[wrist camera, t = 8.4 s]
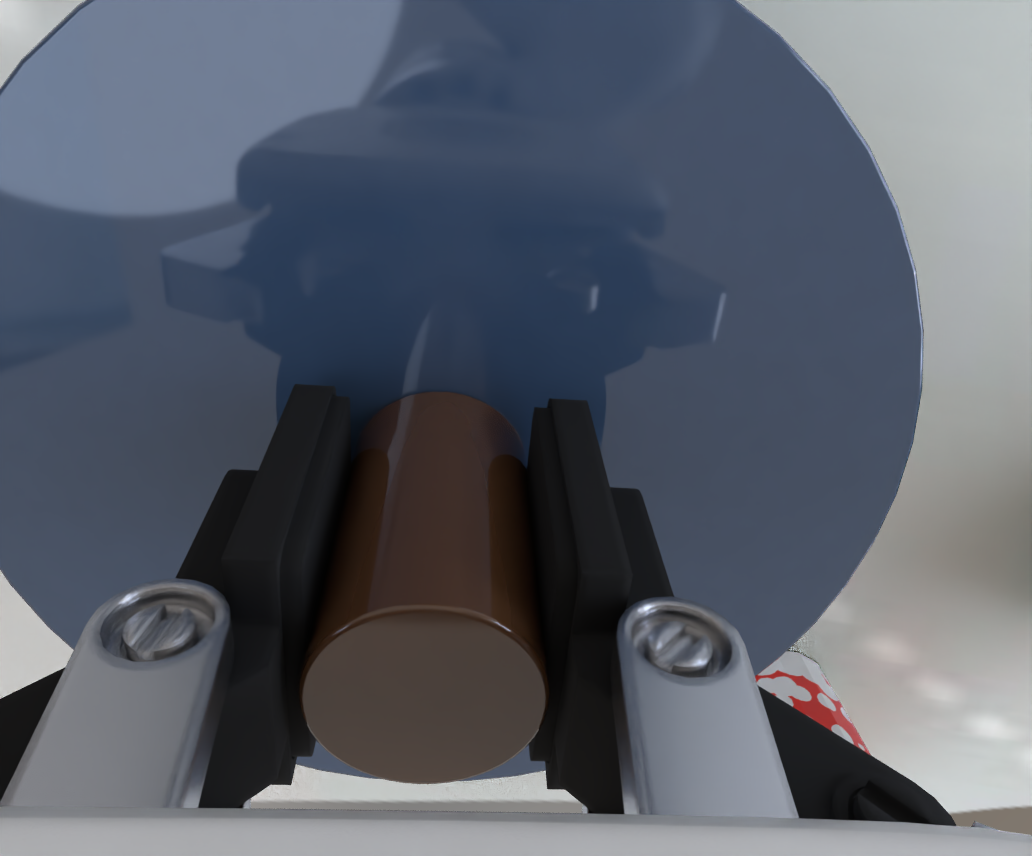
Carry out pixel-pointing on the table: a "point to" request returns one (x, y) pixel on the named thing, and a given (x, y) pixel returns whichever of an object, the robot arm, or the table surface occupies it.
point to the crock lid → (446, 323)
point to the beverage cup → (809, 693)
